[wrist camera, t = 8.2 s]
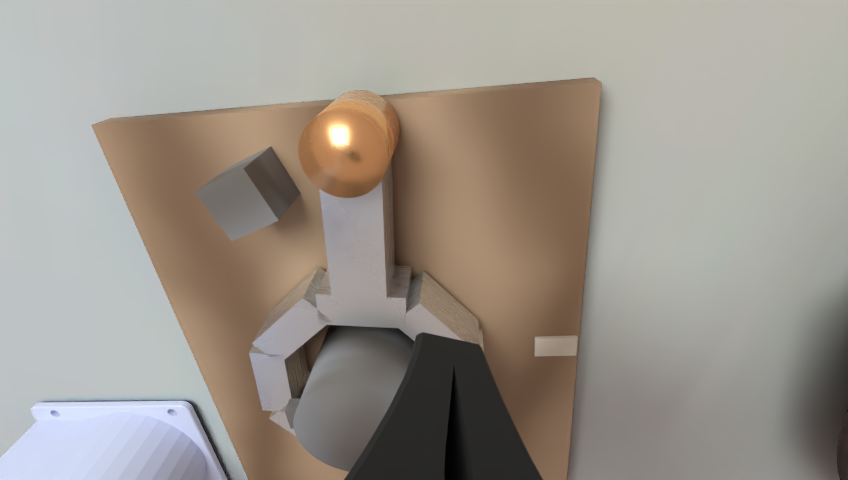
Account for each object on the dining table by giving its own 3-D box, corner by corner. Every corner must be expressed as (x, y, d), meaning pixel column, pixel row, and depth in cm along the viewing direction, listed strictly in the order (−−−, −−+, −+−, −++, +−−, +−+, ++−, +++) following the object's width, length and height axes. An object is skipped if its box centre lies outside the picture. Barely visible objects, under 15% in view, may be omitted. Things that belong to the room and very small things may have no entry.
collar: (473, 428, 23) (475, 485, 20) (289, 417, 23) (266, 471, 20) (502, 93, 15) (511, 114, 12) (223, 87, 15) (174, 107, 13)
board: (261, 477, 28) (219, 579, 23) (110, 118, 17) (-24, 166, 13) (561, 480, 26) (584, 591, 21) (593, 77, 15) (654, 116, 11)
